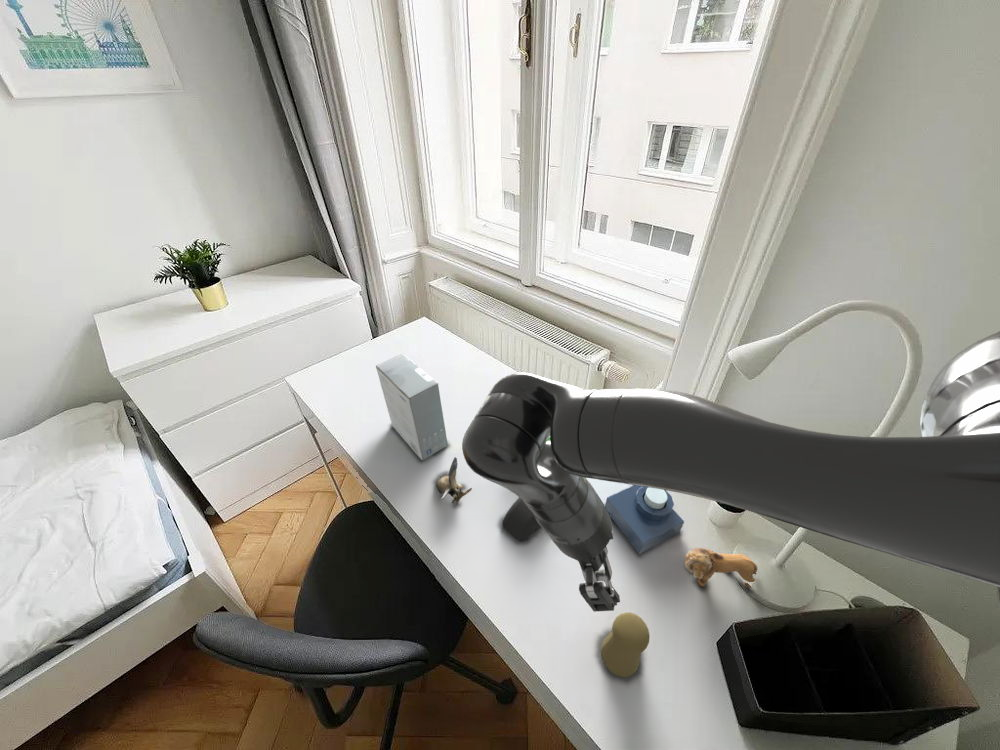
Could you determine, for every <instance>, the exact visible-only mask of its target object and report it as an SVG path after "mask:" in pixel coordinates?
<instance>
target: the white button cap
mask: <svg viewBox="0 0 1000 750" xmlns="http://www.w3.org/2000/svg"><path fill="white" fill-rule="evenodd" d="M644 501H645V503H646V504H647V505H648V506H649V507H650V508H652V509H661V508H663V507H664V506H665V503H666V501H667V494H666V492H665V491H664V490H662V489H657V488H650V487H649V488H647V490H646V493H645V495H644Z"/></svg>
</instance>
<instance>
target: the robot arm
mask: <svg viewBox="0 0 1000 750" xmlns="http://www.w3.org/2000/svg"><path fill="white" fill-rule="evenodd" d="M473 417H474V418H473V419H472V420H471V422H470V424H469V426H468V427H467V429H466V431H465V433H464V435H463V437H462V442H461V449H462V455H463V459H464V460H465V462H466V465H467V466H468V467H469V468H470V470H471V471H472V472H473V473H474V474H476V475H478V476H479V477H481V478H483V479H485V480H487V481H489V482H491V483H493V484H496V485H498V486H500V487H502V488H504V489H506V490H507V491H510V492H511V493H513V494H514V495H515V496H517V497H518V498H521V499H522V501H523V502H524V503H525V504H526V506H527V507H528V508H529V509H530V511H531V512H532V513H533V515H534V517H535V518H536V520H537V522H538V524H539V525H540V526H539V527H540V528H541V529H542V530H543V531H544V532H545V534H546V535H547V536H548V537H549V539H550V540H551V541H552V542H553V543H554V545H555V546H556V547H557V548H558V550H559V551H560V552H561V553H563V555H565V556H567V557H569V558H570V559H574V560H575V561H577V562H578V564H579V567H580V570H581V572H582V576H583V580H584V581H585V582H582V583H581V582H580V583H579V585H578V591H579V594H580V596H581V597H582V598H583V599H584V601H585V602H586V603H587V604H588V606H589V607H590V608H591V610H592V611H593V612H594V613H595V612H611V611H615V606H618V603H620V602H621V598H620V596H621V595H620V594H619V593H618V592H617V590H616V589H615V587H614V586H613V584H612V583H613V582H612V581H611V580H612V576H613V570H612V566H611V563H610V560H609V557H608V553H609V550H608V544H609V543H610V541H611V540H613V539H614V534H613V522H612V518H611V516H610V515H609V514H608V512H607V510H606V508H605V504H604V502H603V500H602V499H601V497H600V496H599V494H598V493H597V491H596V490H595V488H594V487H593V485H592V484H591V482H589V481H590V480H588V479H591V480H599V481H603V482H604V481H606V482H611V483H618V484H624V485H630V486H633V485H637V486H643V487H650V488H657V489H662V490H666V491H667V492H674V493H678V494H683V495H688V496H692V497H697V498H702V499H706V500H709V501H713V502H717V503H720V504H723V505H724V504H725V505H727V506H732V507H734V508H737V509H741V510H744V511H748V512H750V513H755V514H757V515H760V516H764V517H767V518H770V519H773V520H776V521H779V522H782V523H786V524H789V525H792V526H795V527H798V528H802V529H804V530H807V531H811V532H814V533H817V534H821V535H824V536H826V537H827V536H828V537H830V538H835V539H837V540H841V541H844V542H847V543H850V544H854V545H856V546H857V545H858V546H860V547H865V548H866V549H867V548H868V549H871V550H874V551H876V552H877V551H878V552H880V553H884V554H888V555H891V556H894V557H897V558H900V559H904V560H907V561H911V562H914V563H917V564H920V565H923V566H927V567H929V568H933V569H937V570H940V571H942V572H943V571H944V572H946V573H949V574H953V575H957V576H959V577H963V578H966V579H970V580H973V581H977V582H980V583H982V584H986V585H989V586H993V587H996V595H997V596H996V597H997V604H998V610H999V611H998V613H999V615H1000V331H997V332H995V333H992V334H990V335H987V336H985V337H983V338H980V339H979V340H977V341H975V342H973V343H971V344H970V345H969V346H967V347H965V348H964V349H962V350H961V351H959V352H958V353H956V354H955V355H954V356H953V357H952V358H951V359H950V360H949V361H947V362H946V363H945V364H944V366H942V367H941V369H940V370H939V371H938V372H937V374H936V375H934V378H933V379H932V381H931V383H930V385H929V386H928V389H927V391H926V393H925V396H924V398H923V401H922V404H921V411H920V419H919V424H920V430H921V436H863V435H862V436H860V435H849V434H837V433H831V432H820V431H814V430H808V429H803V428H797V427H793V426H789V425H785V424H781V423H777V422H773V421H769V420H767V419H763V418H759V417H757V416H754V415H750V414H748V413H744V412H742V411H739V410H737V409H735V408H731V407H729V406H726V405H724V404H721V403H718V402H716V401H713V400H711V399H707V398H704V397H701V396H697V395H694V394H690V393H686V392H682V391H678V390H677V391H676V390H670V389H661V388H595V389H594V388H592V389H589V388H584V387H580V386H576V385H573V384H569V383H565V382H561V381H557V380H554V379H550V378H547V377H544V376H542V375H541V376H540V375H538V374H535V373H530V372H521V371H520V372H514V373H511V374H508V375H506V376H503V377H501V378H500V379H499V380H498V381H497V382H495V384H493V386H492V387H491V389H490V390H489V392H488V394H487V396H486V398H485V399H484V401H483V402H482V404H481V405H480V407H479V409H478V411H477V412H476V414H475V415H474V416H473ZM549 438H550V440H549V441H548V439H549ZM602 566H603V569H601V567H602Z"/></svg>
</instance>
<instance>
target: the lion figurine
mask: <svg viewBox="0 0 1000 750" xmlns="http://www.w3.org/2000/svg"><path fill="white" fill-rule="evenodd" d="M684 566H685V569H686V570H687V571H688V572H690V573H691V574H692V575H693V578H695V579H698V580H697V582H698V584H699V585H700V586H701V587H704V586H706V585H707V582H708V581H709V579H710V578H712V577H713V575H714V574H715V573H718V574H728V573H733V572H736V573H737V574H738V575H739V577H741V579H743V580H744V582H743V584H744V586H745V587H746V588H748V589H750V588H752V587H751V586H750V585H749V584H748V583H747V582H746V581H748V582H754V581H755V582H756V578H755V577H754V575H753V574H755V575H757V573H758V565H757V564H756V562H755V561H753V560H752V559H751V558H750V557H749V556H747V555H745V554H742V553H731V554H729V553H721V552H714V551H713V550H710V549H708V548H706V547H705V548H702V547H695V548H692V549H690V550H689V551H688V552H687V554H686V555H685V561H684ZM756 572H757V573H756Z"/></svg>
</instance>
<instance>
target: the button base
mask: <svg viewBox="0 0 1000 750" xmlns="http://www.w3.org/2000/svg"><path fill="white" fill-rule="evenodd" d="M647 488H649V487H643V486H637V485H630V486H628V487H626V488H624V489H621V490H620V491H618V492H616V493H614V494H611V495H609V496H607V497H606V500H605V504H604V507H605V508H606V510H607V512H608V514H609V515H610V518H611V520H613V522H614V523H615V524H616V525H617V527H618V528H619V529H620V531H621V532H622V533H623V535H624V536H625V537H626V538H627V540H628V541H629V542H630V544H631V545H632V547H634V549H635V550H636V552H637V553H638V554H639V555H640V554H642V553H644V552H646V551H648V550H650V549H651V548H653V547H655V546H657V545H659V544H661V543H663V542H664V541H666V540H668V539H670V538H672V537H674V536H676V535H677V534H679V533H680V532H681V530H682V528H683V526H684V524H685V520H683V518H682V517H681V516H680V515H679V514H678V513H677V511H675V510H674V509H673V508H674V506H675V503H674V500H673V496H672V495H671V494H670V493H669V491H667V490H664V491H665V492H666V494H667V501H666V503H665V506H664V507H663V508H661V509H652V508H650V507H649V506H648V505H647V504H646V503H645V501H644V495H645V493H646V490H647Z"/></svg>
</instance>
